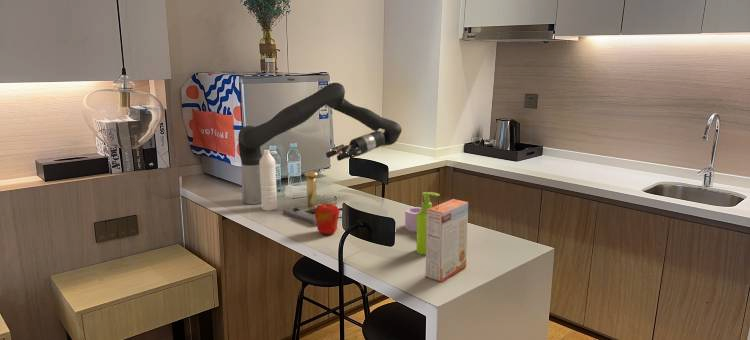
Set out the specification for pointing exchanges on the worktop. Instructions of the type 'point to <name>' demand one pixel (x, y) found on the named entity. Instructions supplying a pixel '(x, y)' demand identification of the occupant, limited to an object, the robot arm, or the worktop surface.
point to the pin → (311, 188)
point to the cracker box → (446, 239)
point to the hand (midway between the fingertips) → (332, 156)
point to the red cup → (327, 218)
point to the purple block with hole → (411, 218)
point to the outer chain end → (308, 214)
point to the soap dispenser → (423, 222)
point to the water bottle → (268, 181)
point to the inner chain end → (293, 213)
